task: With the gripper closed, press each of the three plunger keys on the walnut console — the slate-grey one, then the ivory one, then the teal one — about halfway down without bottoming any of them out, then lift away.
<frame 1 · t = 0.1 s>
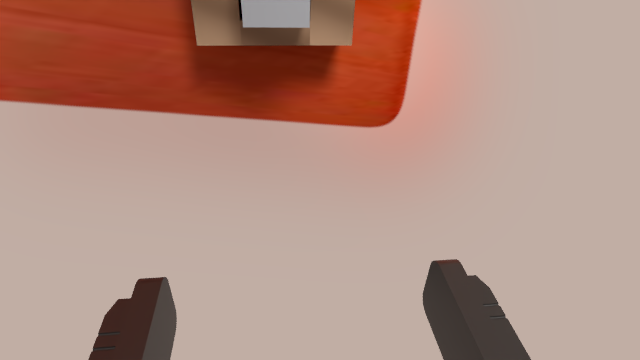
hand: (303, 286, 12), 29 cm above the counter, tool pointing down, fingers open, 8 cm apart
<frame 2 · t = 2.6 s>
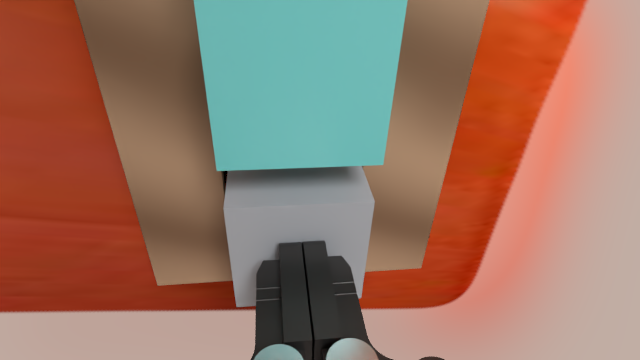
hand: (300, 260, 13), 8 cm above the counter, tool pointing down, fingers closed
grey key: (296, 218, 15), point 6 cm above the counter, slide at 0.3 cm, touching gripper
console: (285, 6, 17), on the counter
teal key: (296, 60, 11), point 7 cm above the counter, slide at 0.0 cm
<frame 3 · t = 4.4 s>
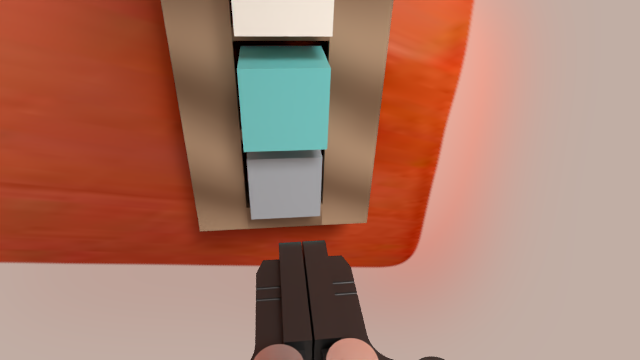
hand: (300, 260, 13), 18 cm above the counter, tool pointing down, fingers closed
grey key: (284, 172, 27), point 5 cm above the counter, slide at 1.7 cm
console: (279, 61, 28), on the counter
teal key: (283, 97, 22), point 7 cm above the counter, slide at 0.0 cm
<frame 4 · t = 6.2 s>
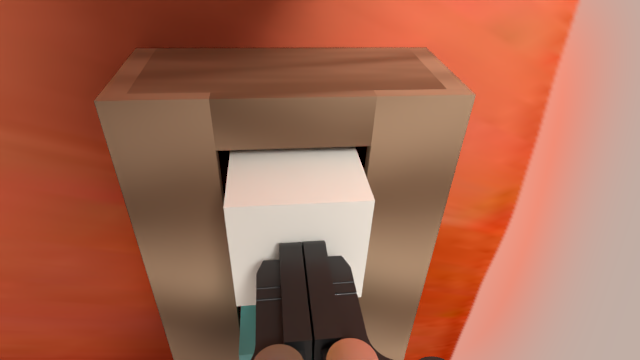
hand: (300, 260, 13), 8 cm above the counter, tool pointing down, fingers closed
console: (289, 234, 23), on the counter
ivory key: (296, 217, 15), point 6 cm above the counter, slide at 1.0 cm, touching gripper
teal key: (297, 337, 18), point 7 cm above the counter, slide at 0.0 cm
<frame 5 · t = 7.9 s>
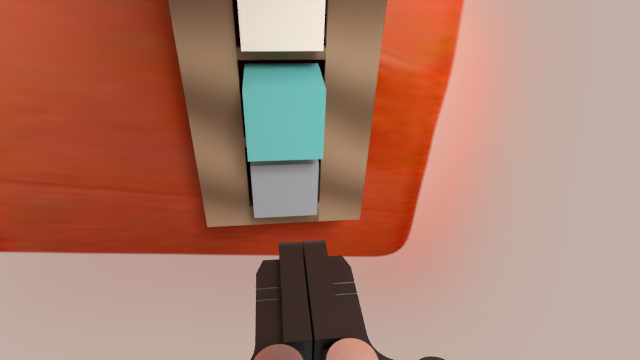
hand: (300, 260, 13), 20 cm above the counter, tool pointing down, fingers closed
grey key: (284, 175, 30), point 5 cm above the counter, slide at 1.7 cm
console: (279, 71, 30), on the counter
teal key: (283, 111, 25), point 7 cm above the counter, slide at 0.0 cm
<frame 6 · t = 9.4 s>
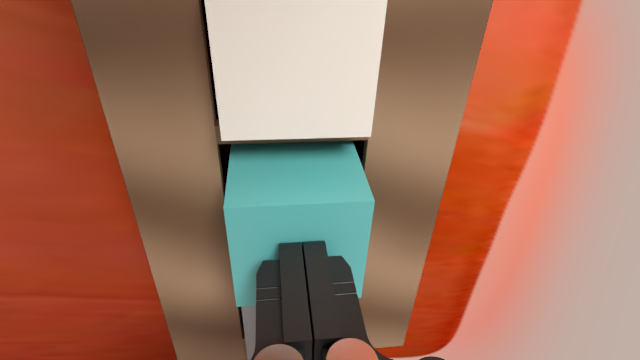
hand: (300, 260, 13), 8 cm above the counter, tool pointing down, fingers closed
grey key: (294, 297, 19), point 5 cm above the counter, slide at 1.7 cm
console: (287, 138, 20), on the counter
ivory key: (293, 43, 13), point 5 cm above the counter, slide at 1.8 cm
teal key: (296, 218, 15), point 6 cm above the counter, slide at 0.5 cm, touching gripper
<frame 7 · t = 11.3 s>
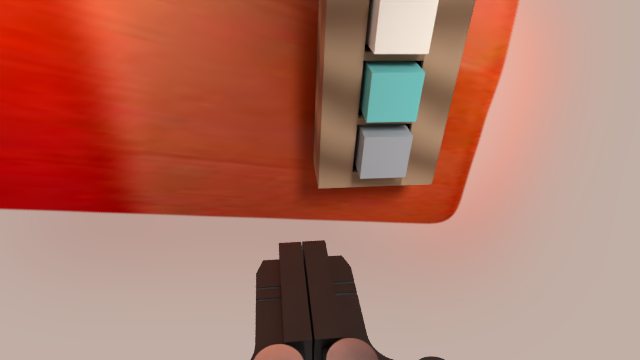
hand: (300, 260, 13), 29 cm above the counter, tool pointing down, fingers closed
grey key: (380, 147, 40), point 5 cm above the counter, slide at 1.7 cm
console: (376, 70, 40), on the counter
ivory key: (398, 18, 33), point 5 cm above the counter, slide at 1.8 cm
teal key: (389, 89, 36), point 5 cm above the counter, slide at 1.7 cm
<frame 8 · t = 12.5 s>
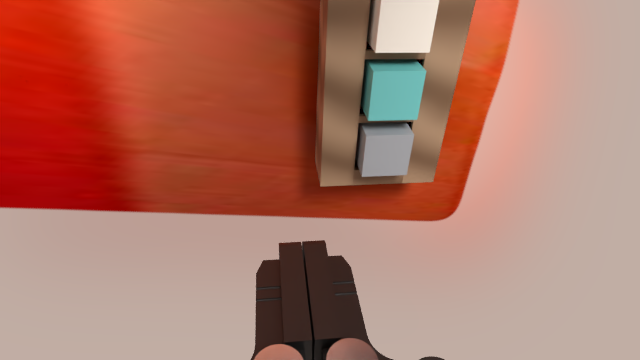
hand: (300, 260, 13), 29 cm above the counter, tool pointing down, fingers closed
grey key: (382, 145, 40), point 5 cm above the counter, slide at 1.7 cm
console: (377, 68, 40), on the counter
ivory key: (399, 17, 33), point 5 cm above the counter, slide at 1.8 cm
teal key: (390, 87, 36), point 5 cm above the counter, slide at 1.7 cm
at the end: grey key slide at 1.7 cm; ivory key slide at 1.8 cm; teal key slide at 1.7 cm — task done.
